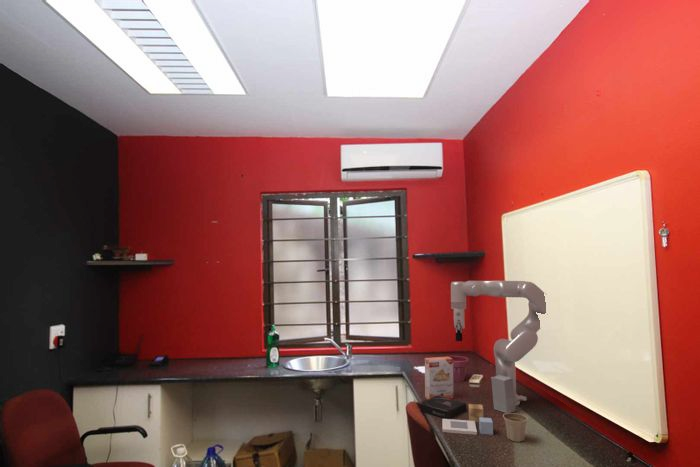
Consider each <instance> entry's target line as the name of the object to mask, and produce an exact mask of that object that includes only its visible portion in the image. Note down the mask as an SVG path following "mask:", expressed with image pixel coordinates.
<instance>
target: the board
mask: <svg viewBox="0 0 700 467" xmlns="http://www.w3.org/2000/svg"><path fill="white" fill-rule="evenodd" d="M441 420H442V433H447V434H448V433H450V434H451V433H452V434H461V435H463V434H464V435H474V436H476V435H478V431H477V426H476V422H475V421H470V420H469V419H467V420H464V419H453V418H450V419H442V418H441Z"/></svg>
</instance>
